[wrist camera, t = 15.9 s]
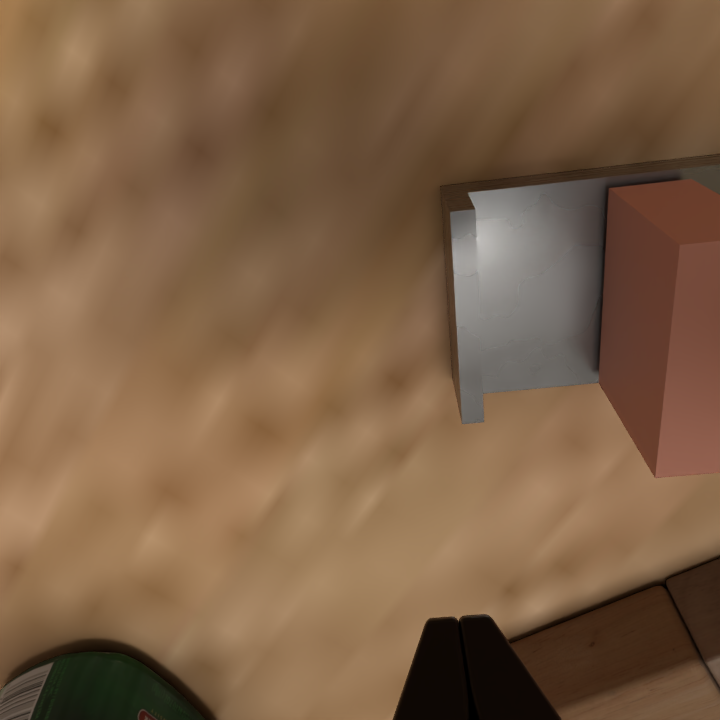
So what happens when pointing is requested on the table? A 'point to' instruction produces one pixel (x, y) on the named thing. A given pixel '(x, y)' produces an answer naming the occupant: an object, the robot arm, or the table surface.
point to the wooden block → (636, 655)
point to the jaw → (664, 323)
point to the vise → (535, 274)
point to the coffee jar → (92, 691)
